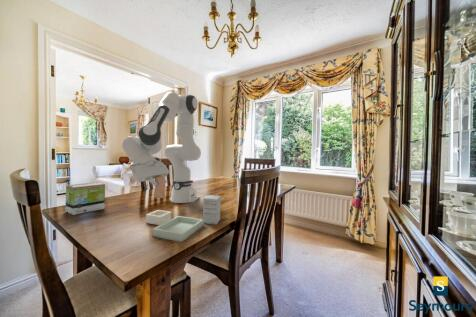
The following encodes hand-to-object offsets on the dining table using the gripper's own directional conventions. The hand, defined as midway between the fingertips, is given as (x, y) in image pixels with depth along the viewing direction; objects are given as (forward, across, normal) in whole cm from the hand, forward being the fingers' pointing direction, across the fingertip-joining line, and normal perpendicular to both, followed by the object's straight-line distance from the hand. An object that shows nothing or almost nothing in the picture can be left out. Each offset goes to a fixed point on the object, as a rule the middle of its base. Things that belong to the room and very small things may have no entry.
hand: (161, 184), depth 98 cm
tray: (+24, -7, +2) cm, 25 cm away
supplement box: (+30, +9, -3) cm, 31 cm away
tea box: (-20, -3, +47) cm, 51 cm away
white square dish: (+13, -1, +14) cm, 18 cm away
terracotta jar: (+4, 0, +5) cm, 6 cm away
